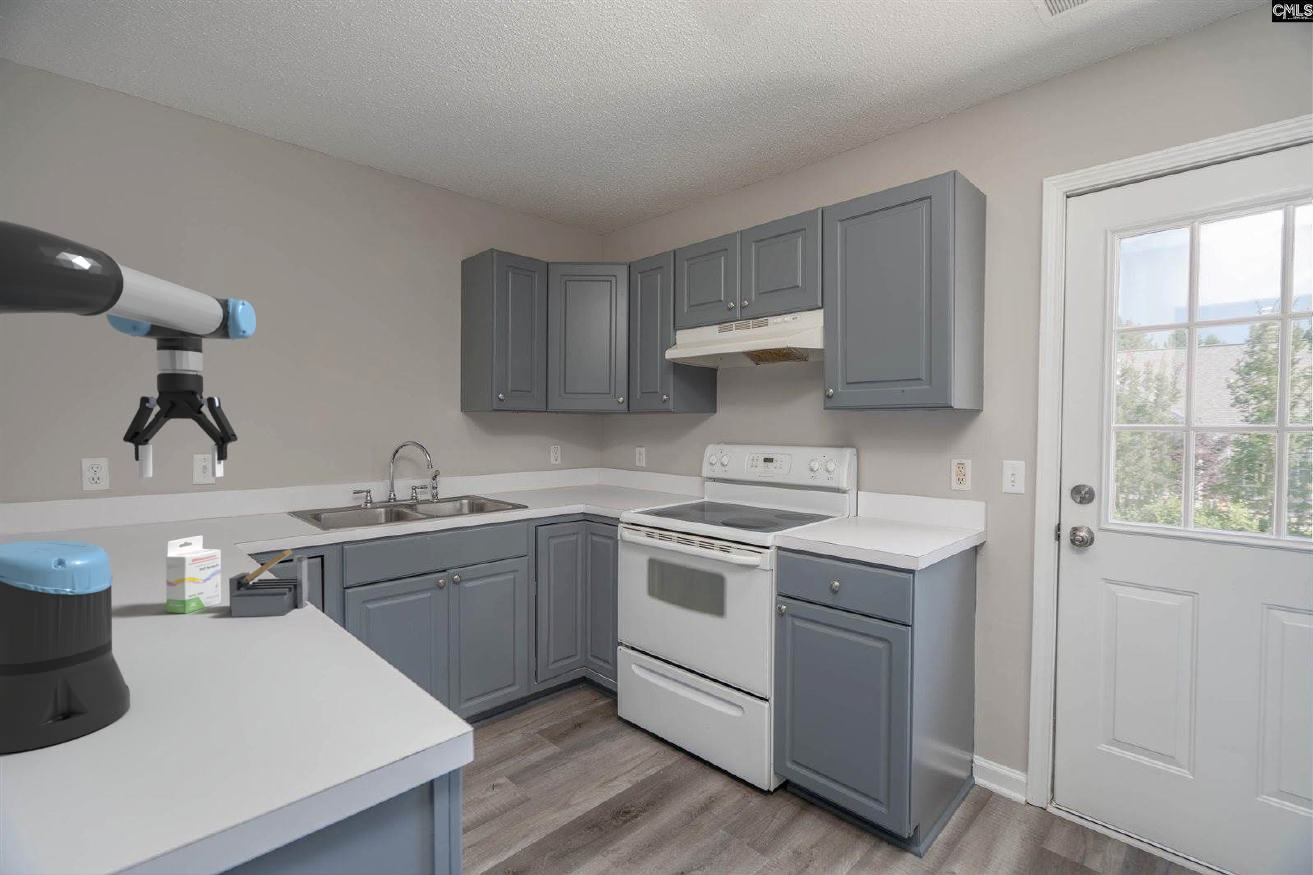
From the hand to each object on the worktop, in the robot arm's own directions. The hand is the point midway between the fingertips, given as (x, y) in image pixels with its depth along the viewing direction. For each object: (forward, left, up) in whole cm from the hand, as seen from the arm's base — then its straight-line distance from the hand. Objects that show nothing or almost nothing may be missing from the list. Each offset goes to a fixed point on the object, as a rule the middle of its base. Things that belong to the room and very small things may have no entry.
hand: (182, 477), depth 127 cm
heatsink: (+2, -16, -28) cm, 32 cm away
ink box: (+4, 0, -28) cm, 28 cm away
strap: (+2, -15, -20) cm, 25 cm away
